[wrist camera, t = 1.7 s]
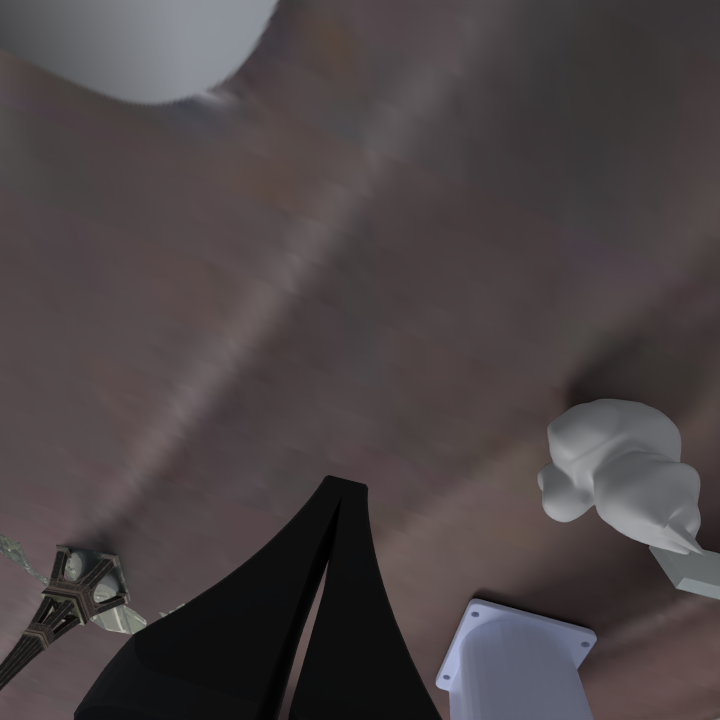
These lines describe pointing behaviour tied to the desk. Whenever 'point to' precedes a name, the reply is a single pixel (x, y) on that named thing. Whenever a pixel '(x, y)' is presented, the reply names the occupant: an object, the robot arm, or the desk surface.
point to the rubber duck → (623, 473)
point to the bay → (691, 570)
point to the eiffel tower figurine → (71, 600)
